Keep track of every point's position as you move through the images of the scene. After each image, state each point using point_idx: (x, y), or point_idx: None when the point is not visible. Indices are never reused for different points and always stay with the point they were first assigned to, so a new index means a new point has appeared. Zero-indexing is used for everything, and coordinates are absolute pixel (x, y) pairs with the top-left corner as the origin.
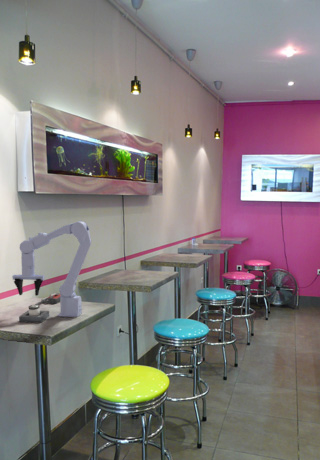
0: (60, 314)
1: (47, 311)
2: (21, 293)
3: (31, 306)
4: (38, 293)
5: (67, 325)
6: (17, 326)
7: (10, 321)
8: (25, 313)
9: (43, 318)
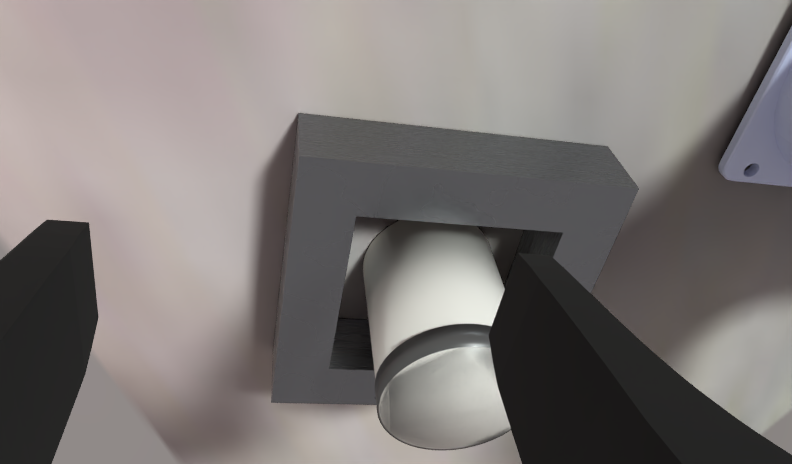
0: (766, 140)
1: (613, 216)
2: (83, 301)
3: (421, 408)
4: (565, 277)
5: (752, 407)
6: (301, 444)
7: (152, 328)
8: (310, 297)
9: None
